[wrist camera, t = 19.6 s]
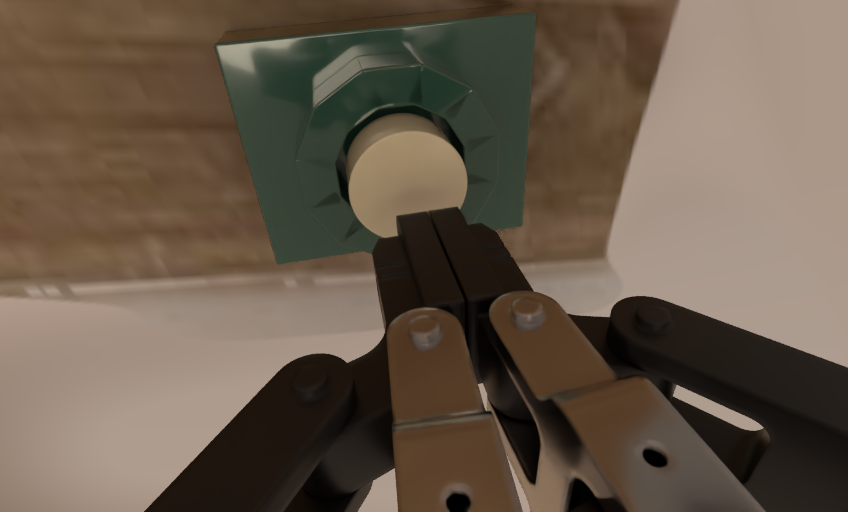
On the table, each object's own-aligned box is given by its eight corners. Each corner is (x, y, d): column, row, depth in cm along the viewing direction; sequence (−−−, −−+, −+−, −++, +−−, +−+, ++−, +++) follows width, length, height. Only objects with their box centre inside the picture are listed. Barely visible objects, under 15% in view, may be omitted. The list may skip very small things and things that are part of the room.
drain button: (452, 105, 15) (467, 123, 13) (455, 207, 17) (468, 232, 15) (336, 119, 14) (339, 139, 13) (353, 222, 16) (357, 249, 15)
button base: (513, 3, 17) (561, 19, 14) (505, 202, 22) (540, 250, 18) (223, 31, 16) (201, 56, 12) (279, 236, 20) (273, 294, 17)
